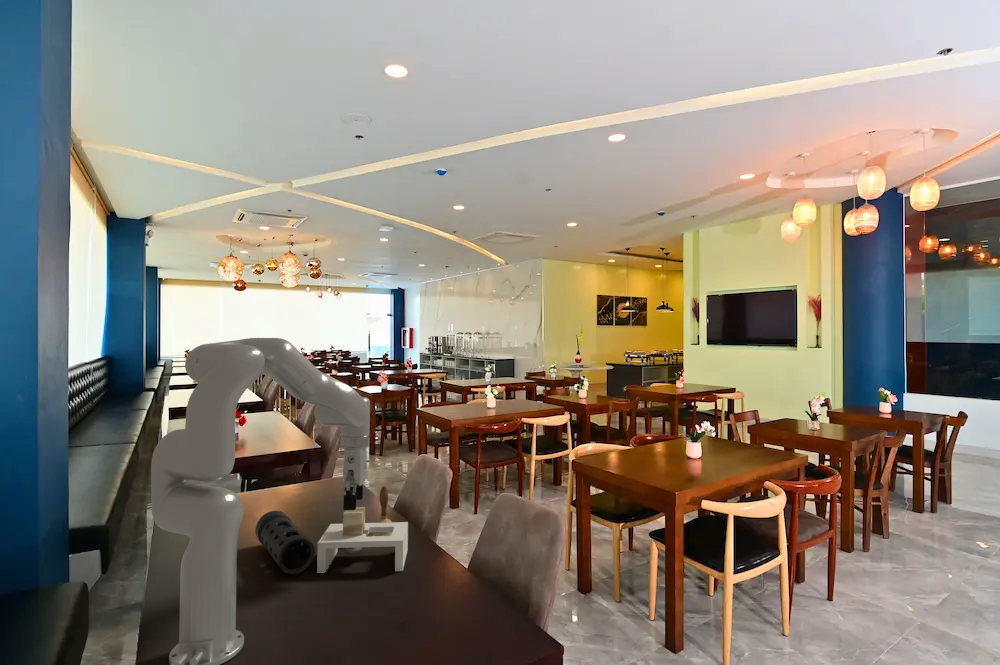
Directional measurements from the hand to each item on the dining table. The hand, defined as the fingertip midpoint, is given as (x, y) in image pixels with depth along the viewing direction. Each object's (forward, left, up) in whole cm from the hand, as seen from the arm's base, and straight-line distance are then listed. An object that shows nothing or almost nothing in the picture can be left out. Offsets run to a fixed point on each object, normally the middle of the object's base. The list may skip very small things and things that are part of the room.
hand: (353, 504), depth 140 cm
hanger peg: (0, 0, -13) cm, 13 cm away
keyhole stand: (+1, -3, -16) cm, 16 cm away
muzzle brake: (+4, +20, -16) cm, 26 cm away
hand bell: (+17, -6, -16) cm, 24 cm away
